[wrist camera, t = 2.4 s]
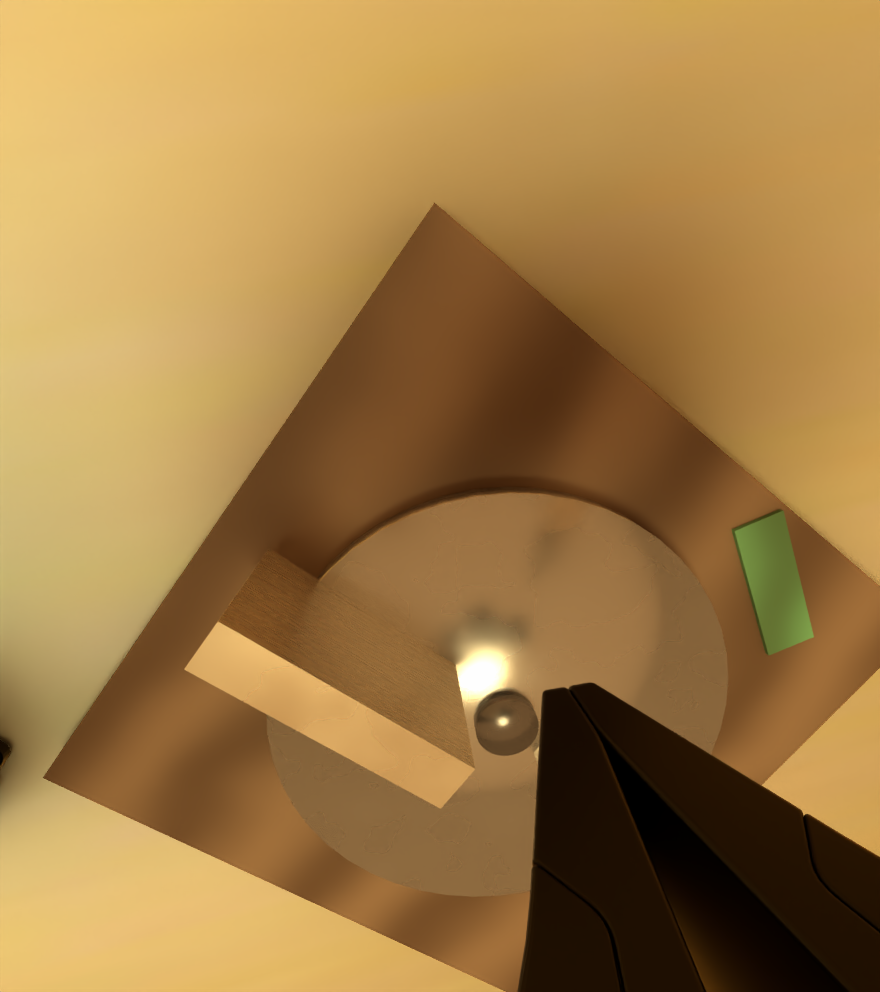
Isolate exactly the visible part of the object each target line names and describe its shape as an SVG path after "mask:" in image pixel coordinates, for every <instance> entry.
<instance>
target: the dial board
mask: <svg viewBox="0 0 880 992" xmlns="http://www.w3.org/2000/svg"><path fill="white" fill-rule="evenodd" d="M497 487H524V488H540V489H546V490H552V491H557V492H563V493H568V494H571V495H575V496H578V497H581V498H584V499H588V500H591V501H594V502H597V503H599V504H601V505H603V506H605V507H607V508H609V509H612V510H614V511H616V512H618V513H620V514H622V515H624V516H625V517H627V518H628V519H630V520H631V521H633V522H634V523H636V524H637V525H639V526H640V527H642V528H643V529H645V530H646V531H648V532H649V533H651V534H652V535H654V536H655V537H657V538H658V539H660V540H661V541H662V542H663V543H664V544H665V545H666V546H667V547H668V548H670V549H671V550H672V551H673V552H674V553H675V554H676V555H677V556H678V557H679V558H681V560H682V561H683V562H684V563H685V565H686V566H687V567H688V568H689V569H690V571H691V572H692V573H693V574H694V576H695V577H696V578H697V579H698V581H699V582H700V584H701V586H702V588H703V589H704V591H705V593H706V595H707V596H708V598H709V600H710V601H711V603H712V606H713V608H714V611H715V613H716V616H717V618H718V621H719V624H720V626H721V630H722V634H723V639H724V643H725V648H726V653H727V667H728V688H727V700H726V707H725V711H724V716H723V720H722V725H721V729H720V732H719V734H718V737H717V740H716V742H715V745H714V748H713V751H712V753H711V755H713V756H714V757H716V758H718V759H719V760H721V761H722V762H724V763H726V764H727V765H729V766H731V767H732V768H734V769H735V770H737V771H739V772H740V773H742V774H744V775H745V776H747V777H748V778H750V779H752V780H753V781H755V782H757V783H758V784H760V785H762V784H763V783H764V782H765V781H766V780H767V779H768V778H769V777H770V776H771V775H772V774H773V773H774V772H775V771H776V770H777V769H778V768H779V767H780V766H781V765H782V764H783V763H784V762H785V761H786V760H787V759H788V758H789V757H790V756H791V755H792V754H793V753H794V752H795V751H796V750H797V749H798V748H799V747H800V746H801V745H802V744H803V743H804V742H805V741H806V740H807V739H808V738H810V737H811V736H812V735H813V734H814V733H815V732H816V731H817V730H818V729H819V728H820V727H821V726H822V725H823V724H824V723H825V722H826V721H827V720H828V719H829V718H830V717H831V716H832V715H833V714H834V713H835V712H836V711H837V710H838V709H839V708H840V707H841V706H842V705H843V704H844V703H845V702H846V701H847V700H848V699H849V698H850V697H851V696H852V695H853V694H854V693H855V692H856V691H857V690H858V689H859V688H860V687H861V686H862V685H863V684H864V683H865V682H866V681H867V680H868V679H869V678H870V677H871V676H872V675H873V674H874V673H875V672H876V671H877V670H878V669H879V668H880V586H878V585H877V584H876V583H875V582H874V581H873V580H872V579H870V578H869V577H868V576H867V575H866V574H865V573H863V572H862V571H861V570H860V569H859V568H858V567H856V566H855V565H854V564H853V563H852V562H851V561H849V560H848V559H847V558H846V557H845V556H844V555H843V554H841V553H840V552H839V551H838V550H837V549H836V548H834V547H833V546H832V545H831V544H830V543H829V542H827V541H826V540H825V539H824V538H823V537H822V536H820V535H819V534H818V533H817V532H816V531H815V530H814V529H812V528H811V527H810V526H809V525H808V524H807V523H805V522H804V521H803V520H802V519H801V518H800V517H798V516H797V515H796V514H795V513H794V512H793V511H791V510H790V509H789V508H788V507H787V506H786V505H785V504H783V503H782V502H781V501H780V500H779V499H778V498H776V497H775V496H774V495H773V494H772V493H771V492H769V491H768V490H767V489H766V488H765V487H764V486H762V485H761V484H760V483H759V482H758V481H757V480H756V479H754V478H753V477H752V476H751V475H750V474H749V473H747V472H746V471H745V470H744V469H743V468H742V467H740V466H739V465H738V464H737V463H736V462H735V461H733V460H732V459H731V458H730V457H729V456H728V455H727V454H725V453H724V452H723V451H722V450H721V449H720V448H718V447H717V446H716V445H715V444H714V443H713V442H711V441H710V440H709V439H708V438H707V437H706V436H704V435H703V434H702V433H701V432H700V431H699V430H698V429H696V428H695V427H694V426H693V425H692V424H691V423H689V422H688V421H687V420H686V419H685V418H684V417H682V416H681V415H680V414H679V413H678V412H677V411H675V410H674V409H673V408H672V407H671V406H670V405H668V404H667V403H666V402H665V401H664V400H663V399H662V398H660V397H659V396H658V395H657V394H656V393H655V392H653V391H652V390H651V389H650V388H649V387H648V386H646V385H645V384H644V383H643V382H642V381H641V380H639V379H638V378H637V377H636V376H635V375H634V374H633V373H631V372H630V371H629V370H628V369H627V368H626V367H624V366H623V365H622V364H621V363H620V362H619V361H617V360H616V359H615V358H614V357H613V356H612V355H610V354H609V353H608V352H607V351H606V350H605V349H604V348H602V347H601V346H600V345H599V344H598V343H597V342H595V341H594V340H593V339H592V338H591V337H590V336H588V335H587V334H586V333H585V332H584V331H583V330H581V329H580V328H579V327H578V326H577V325H576V324H575V323H573V322H572V321H571V320H570V319H569V318H568V317H566V316H565V315H564V314H563V313H562V312H561V311H559V310H558V309H557V308H556V307H555V306H554V305H552V304H551V303H550V302H549V301H548V300H547V299H546V298H544V297H543V296H542V295H541V294H540V293H539V292H537V291H536V290H535V289H534V288H533V287H532V286H530V285H529V284H528V283H527V282H526V281H525V280H523V279H522V278H521V277H520V276H519V275H518V274H517V273H515V272H514V271H513V270H512V269H511V268H510V267H508V266H507V265H506V264H505V263H504V262H503V261H501V260H500V259H499V258H498V257H497V256H496V255H494V254H493V253H492V252H491V251H490V250H489V249H488V248H486V247H485V246H484V245H483V244H482V243H481V242H479V241H478V240H477V239H476V238H475V237H474V236H472V235H471V234H470V233H469V232H468V231H467V230H465V229H464V228H463V227H462V226H461V225H460V224H459V223H457V222H456V221H455V220H454V219H453V218H452V217H450V216H449V215H448V214H447V213H446V212H445V211H443V210H442V209H441V208H440V207H439V206H438V205H436V204H435V203H434V204H433V206H432V207H431V209H430V210H429V212H428V213H427V215H426V216H425V218H424V219H423V220H422V222H421V223H420V225H419V226H418V228H417V229H416V231H415V232H414V234H413V235H412V237H411V238H410V240H409V241H408V243H407V244H406V245H405V247H404V248H403V250H402V251H401V253H400V254H399V256H398V257H397V259H396V260H395V262H394V263H393V265H392V266H391V267H390V269H389V270H388V272H387V273H386V275H385V276H384V278H383V279H382V281H381V282H380V284H379V285H378V287H377V288H376V290H375V291H374V292H373V294H372V295H371V297H370V298H369V300H368V301H367V303H366V304H365V306H364V307H363V309H362V310H361V312H360V313H359V314H358V316H357V317H356V319H355V320H354V322H353V323H352V325H351V326H350V328H349V329H348V331H347V332H346V334H345V335H344V337H343V338H342V339H341V341H340V342H339V344H338V345H337V347H336V348H335V350H334V351H333V353H332V354H331V356H330V357H329V359H328V360H327V361H326V363H325V364H324V366H323V367H322V369H321V370H320V372H319V373H318V375H317V376H316V378H315V379H314V381H313V382H312V384H311V385H310V386H309V388H308V389H307V391H306V392H305V394H304V395H303V397H302V398H301V400H300V401H299V403H298V404H297V406H296V407H295V408H294V410H293V411H292V413H291V414H290V416H289V417H288V419H287V420H286V422H285V423H284V425H283V426H282V428H281V429H280V431H279V432H278V433H277V435H276V436H275V438H274V439H273V441H272V442H271V444H270V445H269V447H268V448H267V450H266V451H265V453H264V454H263V455H262V457H261V458H260V460H259V461H258V463H257V464H256V466H255V467H254V469H253V470H252V472H251V473H250V475H249V476H248V478H247V479H246V480H245V482H244V483H243V485H242V486H241V488H240V489H239V491H238V492H237V494H236V495H235V497H234V498H233V500H232V501H231V502H230V504H229V505H228V507H227V508H226V510H225V511H224V513H223V514H222V516H221V517H220V519H219V520H218V522H217V523H216V525H215V526H214V527H213V529H212V530H211V532H210V533H209V535H208V536H207V538H206V539H205V541H204V542H203V544H202V545H201V547H200V548H199V549H198V551H197V552H196V554H195V555H194V557H193V558H192V560H191V561H190V563H189V564H188V566H187V567H186V569H185V570H184V572H183V573H182V574H181V576H180V577H179V579H178V580H177V582H176V583H175V585H174V586H173V588H172V589H171V591H170V592H169V594H168V595H167V596H166V598H165V599H164V601H163V602H162V604H161V605H160V607H159V608H158V610H157V611H156V613H155V614H154V616H153V617H152V619H151V620H150V621H149V623H148V624H147V626H146V627H145V629H144V630H143V632H142V633H141V635H140V636H139V638H138V639H137V641H136V642H135V643H134V645H133V646H132V648H131V649H130V651H129V652H128V654H127V655H126V657H125V658H124V660H123V661H122V663H121V664H120V666H119V667H118V668H117V670H116V671H115V673H114V674H113V676H112V677H111V679H110V680H109V682H108V683H107V685H106V686H105V688H104V689H103V690H102V692H101V693H100V695H99V696H98V698H97V699H96V701H95V702H94V704H93V705H92V707H91V708H90V710H89V711H88V713H87V714H86V715H85V717H84V718H83V720H82V721H81V723H80V724H79V726H78V727H77V729H76V730H75V732H74V733H73V735H72V736H71V737H70V739H69V740H68V742H67V743H66V745H65V746H64V748H63V749H62V751H61V752H60V754H59V755H58V757H57V758H56V759H55V761H54V762H53V764H52V765H51V767H50V768H49V770H48V771H47V773H46V774H45V776H44V777H43V778H44V779H46V780H48V781H51V782H53V783H55V784H57V785H59V786H61V787H64V788H66V789H68V790H70V791H72V792H74V793H77V794H79V795H81V796H83V797H85V798H87V799H90V800H92V801H94V802H96V803H98V804H100V805H103V806H105V807H107V808H109V809H111V810H113V811H116V812H118V813H120V814H122V815H124V816H126V817H129V818H131V819H133V820H135V821H137V822H139V823H142V824H144V825H146V826H148V827H150V828H152V829H155V830H157V831H159V832H161V833H163V834H165V835H168V836H170V837H172V838H174V839H176V840H178V841H181V842H183V843H185V844H187V845H189V846H191V847H194V848H196V849H198V850H200V851H202V852H204V853H207V854H209V855H211V856H213V857H215V858H217V859H220V860H222V861H224V862H226V863H228V864H230V865H233V866H235V867H237V868H239V869H241V870H243V871H246V872H248V873H250V874H252V875H254V876H256V877H259V878H261V879H263V880H265V881H267V882H269V883H272V884H274V885H276V886H278V887H280V888H282V889H285V890H287V891H289V892H291V893H293V894H295V895H298V896H300V897H302V898H304V899H306V900H308V901H311V902H313V903H315V904H317V905H319V906H321V907H324V908H326V909H328V910H330V911H332V912H334V913H337V914H339V915H341V916H343V917H345V918H347V919H350V920H352V921H354V922H356V923H358V924H360V925H363V926H365V927H367V928H369V929H371V930H373V931H376V932H378V933H380V934H382V935H384V936H386V937H389V938H391V939H393V940H395V941H397V942H399V943H402V944H404V945H406V946H408V947H410V948H412V949H415V950H417V951H419V952H421V953H423V954H425V955H428V956H430V957H432V958H434V959H436V960H438V961H441V962H443V963H445V964H447V965H449V966H451V967H454V968H456V969H458V970H460V971H462V972H464V973H467V974H469V975H471V976H473V977H475V978H477V979H480V980H482V981H484V982H486V983H488V984H490V985H493V986H495V987H497V988H499V989H501V990H503V991H506V992H517V990H518V984H519V978H520V971H521V965H522V959H523V953H524V947H525V941H526V931H527V920H528V910H529V900H530V891H528V892H522V893H515V894H508V895H501V896H477V897H470V896H455V895H444V894H438V893H432V892H426V891H420V890H417V889H413V888H410V887H406V886H403V885H399V884H396V883H393V882H391V881H388V880H386V879H384V878H381V877H379V876H376V875H374V874H372V873H370V872H368V871H366V870H364V869H363V868H361V867H359V866H357V865H356V864H354V863H352V862H350V861H348V860H347V859H346V858H344V857H343V856H342V855H340V854H339V853H338V852H336V851H335V850H334V849H332V848H331V847H330V846H328V845H327V844H326V843H325V842H324V841H323V840H322V839H321V838H320V837H319V836H318V835H317V834H316V833H315V832H314V831H313V830H312V829H311V828H310V827H309V826H308V825H307V823H306V822H305V821H304V819H303V818H302V817H301V815H300V814H299V813H298V811H297V810H296V809H295V807H294V806H293V804H292V802H291V801H290V799H289V797H288V795H287V793H286V791H285V790H284V788H283V786H282V784H281V782H280V779H279V776H278V773H277V771H276V768H275V765H274V762H273V760H272V755H271V750H270V745H269V740H268V734H267V714H265V713H263V712H261V711H260V710H258V709H256V708H254V707H252V706H250V705H249V704H247V703H245V702H243V701H241V700H239V699H237V698H236V697H234V696H232V695H230V694H228V693H226V692H225V691H223V690H221V689H219V688H217V687H215V686H214V685H212V684H210V683H208V682H206V681H204V680H202V679H201V678H199V677H197V676H195V675H193V674H191V673H190V672H188V671H186V670H184V669H185V667H186V666H187V664H188V663H189V662H190V660H191V659H192V657H193V656H194V655H195V653H196V652H197V650H198V649H199V647H200V646H201V645H202V643H203V642H204V640H205V639H206V637H207V636H208V635H209V633H210V632H211V630H212V629H213V627H214V626H215V625H216V623H217V622H218V620H219V619H220V617H221V616H222V615H223V613H224V612H225V610H226V609H227V607H228V606H229V605H230V603H231V602H232V600H233V599H234V597H235V596H236V595H237V593H238V592H239V590H240V589H241V587H242V586H243V585H244V583H245V582H246V580H247V579H248V578H249V576H250V575H251V573H252V572H253V570H254V569H255V568H256V566H257V565H258V563H259V562H260V561H261V559H262V558H263V556H264V555H265V554H266V552H267V551H268V549H271V550H272V551H274V552H275V553H277V554H279V555H280V556H282V557H283V558H285V559H287V560H288V561H290V562H291V563H293V564H295V565H296V566H298V567H299V568H301V569H303V570H304V571H306V572H307V573H309V574H311V575H312V576H314V577H315V578H318V576H319V575H320V574H321V573H322V572H323V570H324V569H325V568H326V567H327V566H328V565H329V563H330V562H331V561H332V560H333V559H335V558H336V557H337V556H338V555H339V554H340V553H341V552H342V551H343V550H345V549H346V548H347V547H348V546H349V545H350V544H351V543H352V542H353V541H355V540H356V539H358V538H359V537H361V536H362V535H363V534H365V533H366V532H368V531H369V530H371V529H372V528H374V527H375V526H377V525H378V524H380V523H381V522H383V521H385V520H387V519H389V518H391V517H393V516H395V515H397V514H399V513H401V512H403V511H405V510H407V509H409V508H411V507H414V506H416V505H419V504H422V503H425V502H428V501H430V500H433V499H436V498H439V497H442V496H447V495H451V494H456V493H460V492H465V491H469V490H475V489H486V488H497Z"/></svg>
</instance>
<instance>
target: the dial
mask: <svg viewBox="0 0 880 992" xmlns="http://www.w3.org/2000/svg"><path fill="white" fill-rule="evenodd" d="M184 670H186V671H188V672H190V673H191V674H193V675H195V676H197V677H199V678H201V679H202V680H204V681H206V682H208V683H210V684H212V685H214V686H215V687H217V688H219V689H221V690H223V691H225V692H226V693H228V694H230V695H232V696H234V697H236V698H237V699H239V700H241V701H243V702H245V703H247V704H249V705H250V706H252V707H254V708H256V709H258V710H260V711H261V712H263V713H265V714H267V734H268V740H269V745H270V750H271V755H272V760H273V762H274V765H275V768H276V771H277V773H278V776H279V779H280V782H281V784H282V786H283V788H284V790H285V791H286V793H287V795H288V797H289V799H290V801H291V802H292V804H293V806H294V807H295V809H296V810H297V811H298V813H299V814H300V815H301V817H302V818H303V819H304V821H305V822H306V823H307V825H308V826H309V827H310V828H311V829H312V830H313V831H314V832H315V833H316V834H317V835H318V836H319V837H320V838H321V839H322V840H323V841H324V842H325V843H326V844H327V845H328V846H330V847H331V848H332V849H334V850H335V851H336V852H338V853H339V854H340V855H342V856H343V857H344V858H346V859H347V860H348V861H350V862H352V863H354V864H356V865H357V866H359V867H361V868H363V869H364V870H366V871H368V872H370V873H372V874H374V875H376V876H379V877H381V878H384V879H386V880H388V881H391V882H393V883H396V884H399V885H403V886H406V887H410V888H413V889H417V890H420V891H426V892H432V893H438V894H444V895H455V896H470V897H477V896H501V895H508V894H515V893H522V892H528V891H530V883H531V869H532V855H533V838H534V821H535V804H536V787H537V770H538V753H539V736H540V719H541V702H542V693H543V691H544V690H548V689H554V688H559V687H566V688H569V687H570V686H571V685H577V684H582V683H588V682H592V683H595V684H597V685H599V686H600V687H602V688H603V689H605V690H607V691H608V692H610V693H612V694H613V695H615V696H616V697H618V698H620V699H621V700H623V701H625V702H626V703H628V704H630V705H631V706H633V707H634V708H636V709H638V710H639V711H641V712H643V713H644V714H646V715H647V716H649V717H651V718H652V719H654V720H656V721H657V722H659V723H660V724H662V725H664V726H665V727H667V728H669V729H670V730H672V731H674V732H675V733H677V734H678V735H680V736H682V737H683V738H685V739H687V740H688V741H690V742H691V743H693V744H695V745H696V746H698V747H700V748H701V749H703V750H704V751H706V752H708V753H709V754H711V753H712V751H713V748H714V745H715V742H716V740H717V737H718V734H719V732H720V729H721V725H722V720H723V716H724V711H725V707H726V700H727V688H728V667H727V653H726V648H725V643H724V639H723V634H722V630H721V626H720V624H719V621H718V618H717V616H716V613H715V611H714V608H713V606H712V603H711V601H710V600H709V598H708V596H707V595H706V593H705V591H704V589H703V588H702V586H701V584H700V582H699V581H698V579H697V578H696V577H695V576H694V574H693V573H692V572H691V571H690V569H689V568H688V567H687V566H686V565H685V563H684V562H683V561H682V560H681V558H679V557H678V556H677V555H676V554H675V553H674V552H673V551H672V550H671V549H670V548H668V547H667V546H666V545H665V544H664V543H663V542H662V541H661V540H660V539H658V538H657V537H655V536H654V535H652V534H651V533H649V532H648V531H646V530H645V529H643V528H642V527H640V526H639V525H637V524H636V523H634V522H633V521H631V520H630V519H628V518H627V517H625V516H624V515H622V514H620V513H618V512H616V511H614V510H612V509H609V508H607V507H605V506H603V505H601V504H599V503H597V502H594V501H591V500H588V499H584V498H581V497H578V496H575V495H571V494H568V493H563V492H557V491H552V490H546V489H540V488H524V487H497V488H486V489H475V490H469V491H465V492H460V493H456V494H451V495H447V496H442V497H439V498H436V499H433V500H430V501H428V502H425V503H422V504H419V505H416V506H414V507H411V508H409V509H407V510H405V511H403V512H401V513H399V514H397V515H395V516H393V517H391V518H389V519H387V520H385V521H383V522H381V523H380V524H378V525H377V526H375V527H374V528H372V529H371V530H369V531H368V532H366V533H365V534H363V535H362V536H361V537H359V538H358V539H356V540H355V541H353V542H352V543H351V544H350V545H349V546H348V547H347V548H346V549H345V550H343V551H342V552H341V553H340V554H339V555H338V556H337V557H336V558H335V559H333V560H332V561H331V562H330V563H329V565H328V566H327V567H326V568H325V569H324V570H323V572H322V573H321V574H320V575H319V576H318V578H315V577H314V576H312V575H311V574H309V573H307V572H306V571H304V570H303V569H301V568H299V567H298V566H296V565H295V564H293V563H291V562H290V561H288V560H287V559H285V558H283V557H282V556H280V555H279V554H277V553H275V552H274V551H272V550H271V549H268V551H267V552H266V554H265V555H264V556H263V558H262V559H261V561H260V562H259V563H258V565H257V566H256V568H255V569H254V570H253V572H252V573H251V575H250V576H249V578H248V579H247V580H246V582H245V583H244V585H243V586H242V587H241V589H240V590H239V592H238V593H237V595H236V596H235V597H234V599H233V600H232V602H231V603H230V605H229V606H228V607H227V609H226V610H225V612H224V613H223V615H222V616H221V617H220V619H219V620H218V622H217V623H216V625H215V626H214V627H213V629H212V630H211V632H210V633H209V635H208V636H207V637H206V639H205V640H204V642H203V643H202V645H201V646H200V647H199V649H198V650H197V652H196V653H195V655H194V656H193V657H192V659H191V660H190V662H189V663H188V664H187V666H186V667H185V669H184Z"/></svg>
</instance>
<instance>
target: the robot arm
mask: <svg viewBox="0 0 880 992" xmlns="http://www.w3.org/2000/svg"><path fill="white" fill-rule="evenodd" d="M10 752H11V751H10V747H9V746H8V744H6V743H5V742H3V741H1V740H0V769H1V768H2V766H3V765H4V763H5V761H6V760H7V758H8V757H9V755H10ZM517 992H880V857H879V856H877V855H876V854H874V853H872V852H871V851H869V850H867V849H866V848H864V847H862V846H860V845H859V844H857V843H855V842H854V841H852V840H850V839H849V838H847V837H845V836H843V835H842V834H840V833H838V832H837V831H835V830H834V829H832V828H830V827H829V826H827V825H825V824H824V823H822V822H821V821H819V820H817V819H816V818H814V817H812V816H811V815H809V814H805V815H804V816H803V812H802V811H801V810H800V809H799V808H797V807H796V806H794V805H792V804H791V803H789V802H788V801H786V800H784V799H783V798H781V797H779V796H778V795H776V794H775V793H773V792H771V791H770V790H768V789H766V788H765V787H763V786H761V785H760V784H758V783H757V782H755V781H753V780H752V779H750V778H748V777H747V776H745V775H744V774H742V773H740V772H739V771H737V770H735V769H734V768H732V767H731V766H729V765H727V764H726V763H724V762H722V761H721V760H719V759H718V758H716V757H714V756H713V755H711V754H709V753H708V752H706V751H704V750H703V749H701V748H700V747H698V746H696V745H695V744H693V743H691V742H690V741H688V740H687V739H685V738H683V737H682V736H680V735H678V734H677V733H675V732H674V731H672V730H670V729H669V728H667V727H665V726H664V725H662V724H660V723H659V722H657V721H656V720H654V719H652V718H651V717H649V716H647V715H646V714H644V713H643V712H641V711H639V710H638V709H636V708H634V707H633V706H631V705H630V704H628V703H626V702H625V701H623V700H621V699H620V698H618V697H616V696H615V695H613V694H612V693H610V692H608V691H607V690H605V689H603V688H602V687H600V686H599V685H597V684H595V683H592V682H588V683H582V684H577V685H571V686H570V687H569V688H566V687H559V688H554V689H548V690H544V691H543V693H542V702H541V719H540V736H539V753H538V770H537V787H536V804H535V821H534V838H533V855H532V869H531V883H530V900H529V910H528V920H527V931H526V941H525V947H524V953H523V959H522V965H521V971H520V978H519V984H518V990H517Z"/></svg>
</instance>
